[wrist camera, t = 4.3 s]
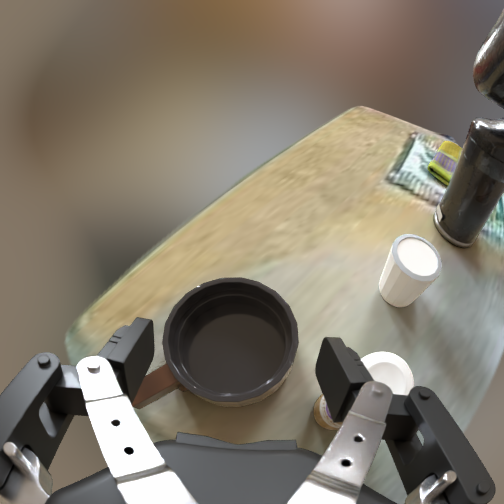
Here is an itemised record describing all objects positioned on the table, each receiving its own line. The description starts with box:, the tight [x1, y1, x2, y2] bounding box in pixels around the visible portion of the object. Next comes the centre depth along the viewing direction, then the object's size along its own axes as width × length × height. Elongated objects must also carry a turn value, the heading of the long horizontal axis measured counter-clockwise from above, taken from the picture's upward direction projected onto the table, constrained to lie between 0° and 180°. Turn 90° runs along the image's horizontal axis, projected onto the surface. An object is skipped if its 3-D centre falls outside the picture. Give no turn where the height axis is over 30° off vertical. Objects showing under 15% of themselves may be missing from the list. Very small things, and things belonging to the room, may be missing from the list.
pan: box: [162, 277, 299, 407], centre depth 27 cm, size 13×13×4 cm
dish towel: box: [428, 141, 462, 186], centre depth 48 cm, size 18×24×3 cm
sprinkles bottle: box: [314, 352, 414, 430], centre depth 18 cm, size 5×5×14 cm
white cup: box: [379, 234, 442, 307], centre depth 29 cm, size 7×7×7 cm
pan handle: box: [132, 364, 187, 409], centre depth 24 cm, size 6×2×4 cm, turn 126°
